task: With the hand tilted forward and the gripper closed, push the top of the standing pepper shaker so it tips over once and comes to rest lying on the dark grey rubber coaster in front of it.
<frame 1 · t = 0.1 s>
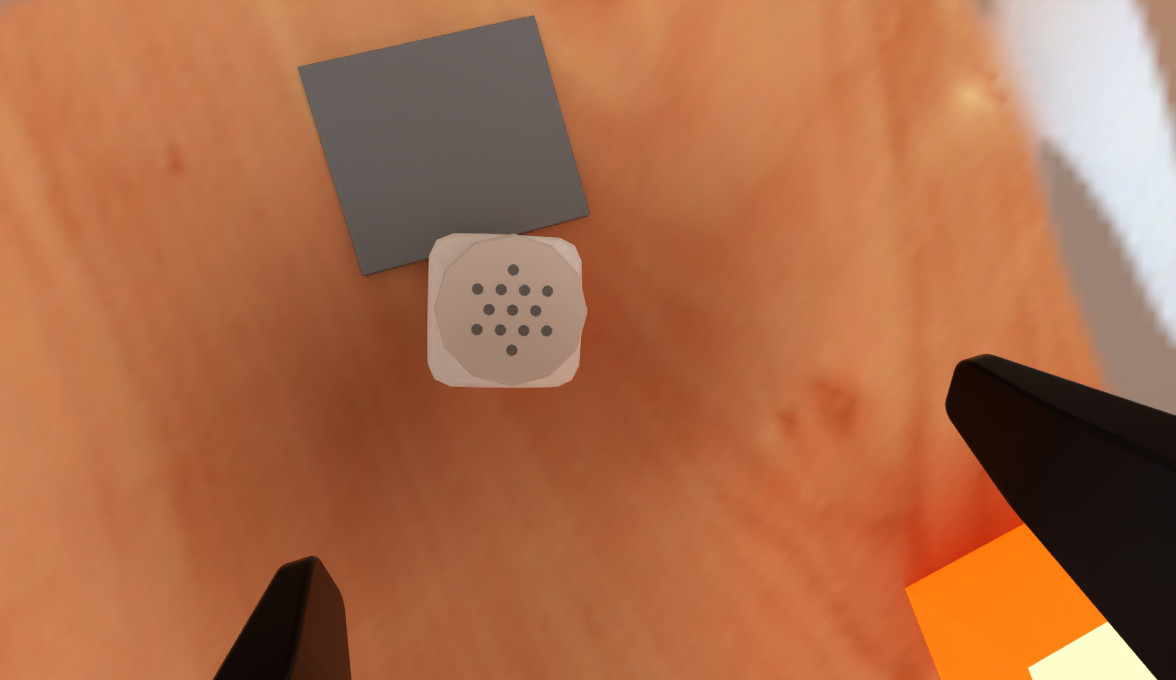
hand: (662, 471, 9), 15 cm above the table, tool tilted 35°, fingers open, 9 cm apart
pepper shaker: (499, 312, 23), on the table
coaster: (450, 147, 22), on the table
orange juice: (1020, 618, 27), on the table
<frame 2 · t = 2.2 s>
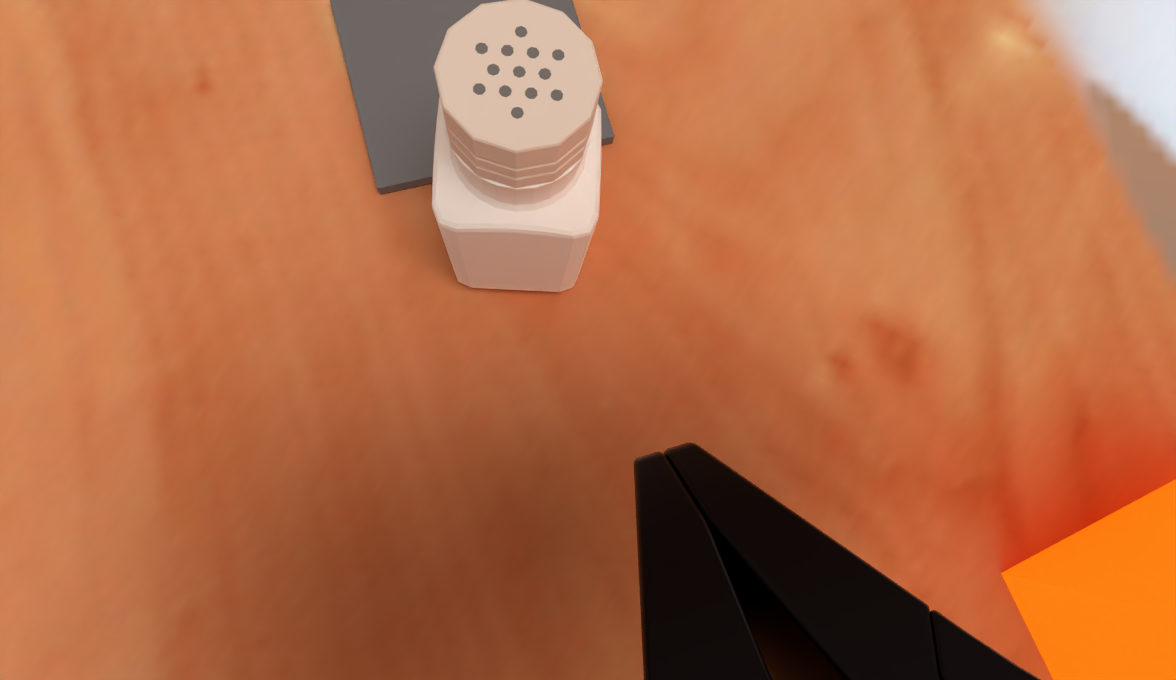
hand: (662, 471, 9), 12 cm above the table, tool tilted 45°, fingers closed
pepper shaker: (518, 237, 22), on the table
coaster: (473, 75, 22), on the table
orange juice: (1153, 622, 22), on the table
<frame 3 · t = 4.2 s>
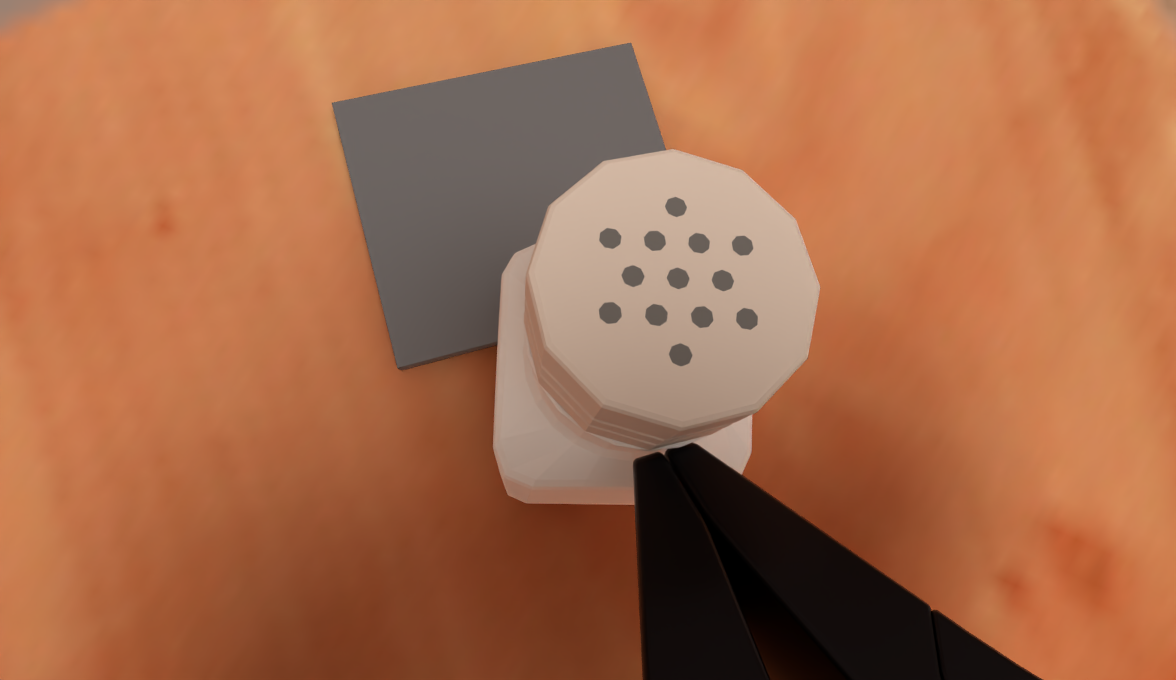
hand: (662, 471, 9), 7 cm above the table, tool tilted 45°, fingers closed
pepper shaker: (585, 422, 16), on the table
coaster: (521, 202, 17), on the table
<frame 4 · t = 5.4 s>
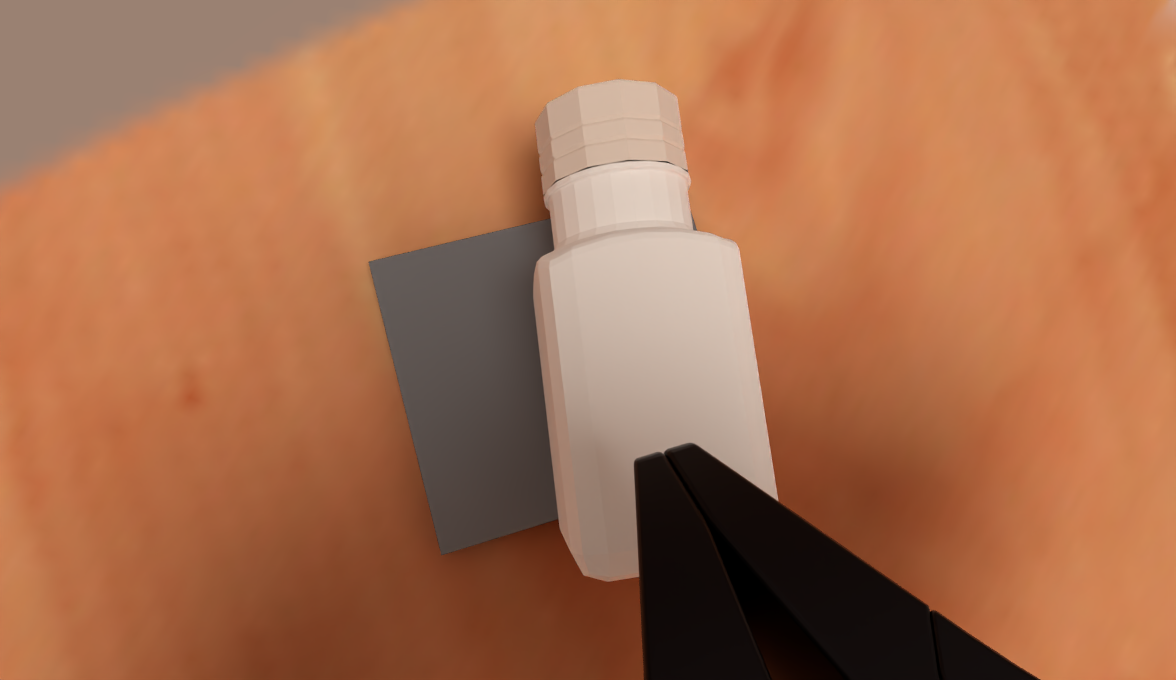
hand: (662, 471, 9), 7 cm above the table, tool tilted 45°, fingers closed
pepper shaker: (666, 565, 13), point 2 cm above the table, touching coaster
coaster: (568, 361, 16), on the table
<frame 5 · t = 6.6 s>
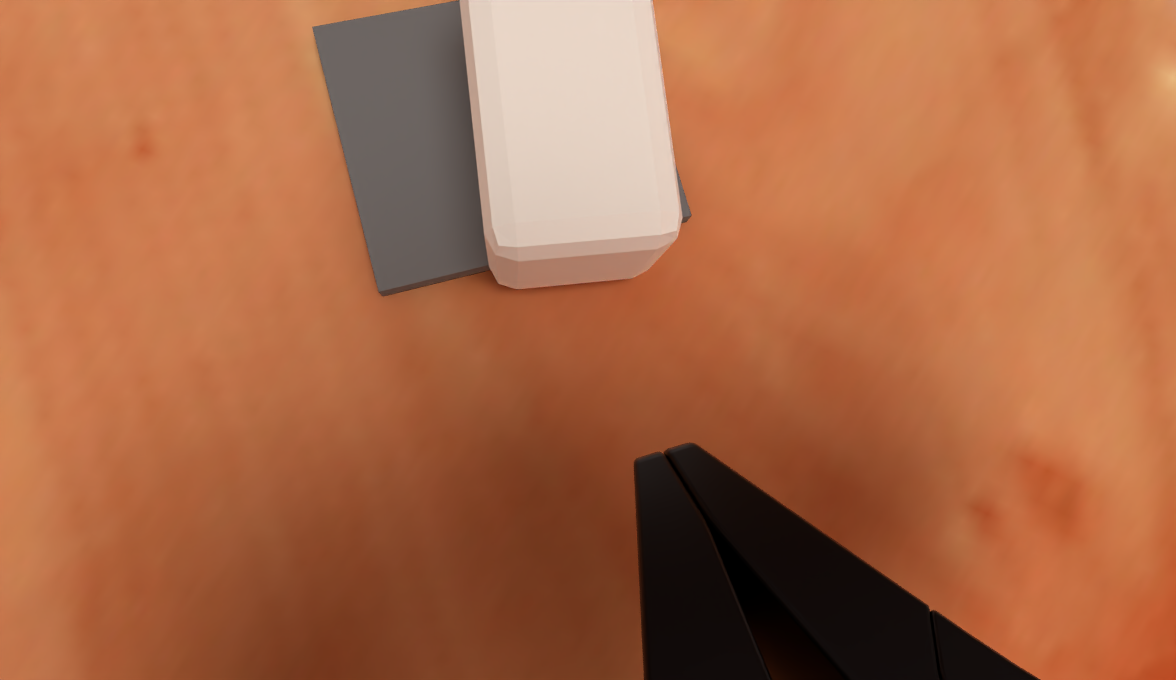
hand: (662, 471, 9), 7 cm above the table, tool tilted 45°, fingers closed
pepper shaker: (582, 279, 14), point 2 cm above the table, touching coaster
coaster: (504, 131, 17), on the table
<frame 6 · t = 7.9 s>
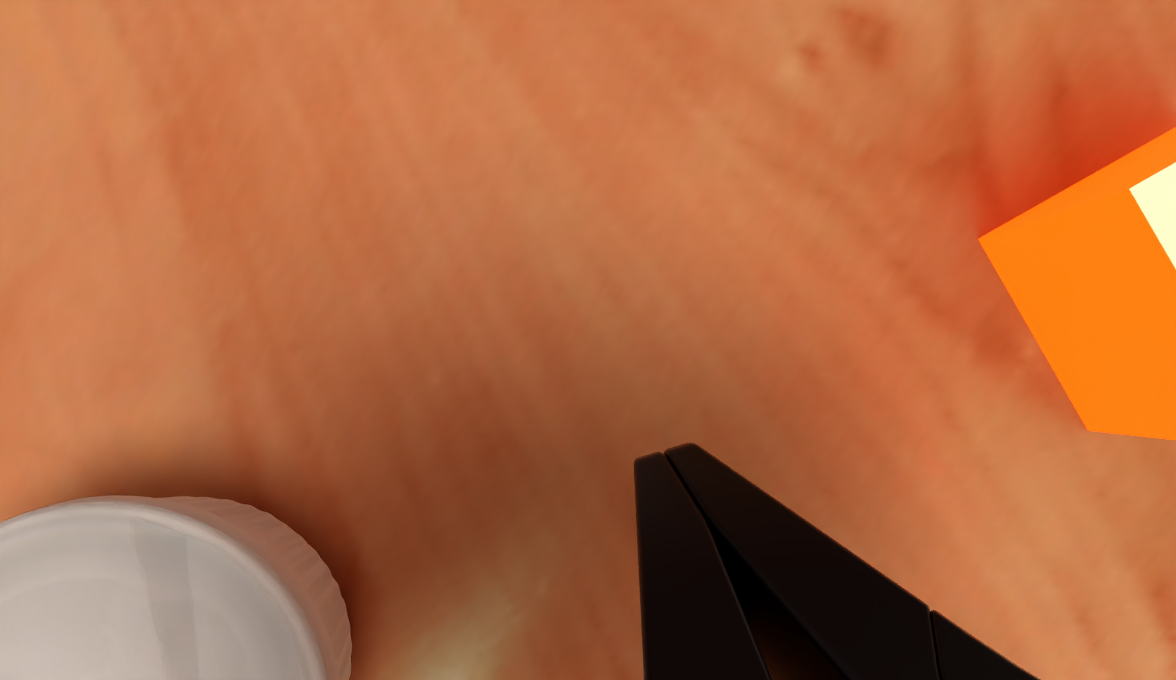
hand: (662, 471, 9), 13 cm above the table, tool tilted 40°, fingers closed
ramekin: (209, 643, 21), on the table
orange juice: (1132, 275, 23), on the table
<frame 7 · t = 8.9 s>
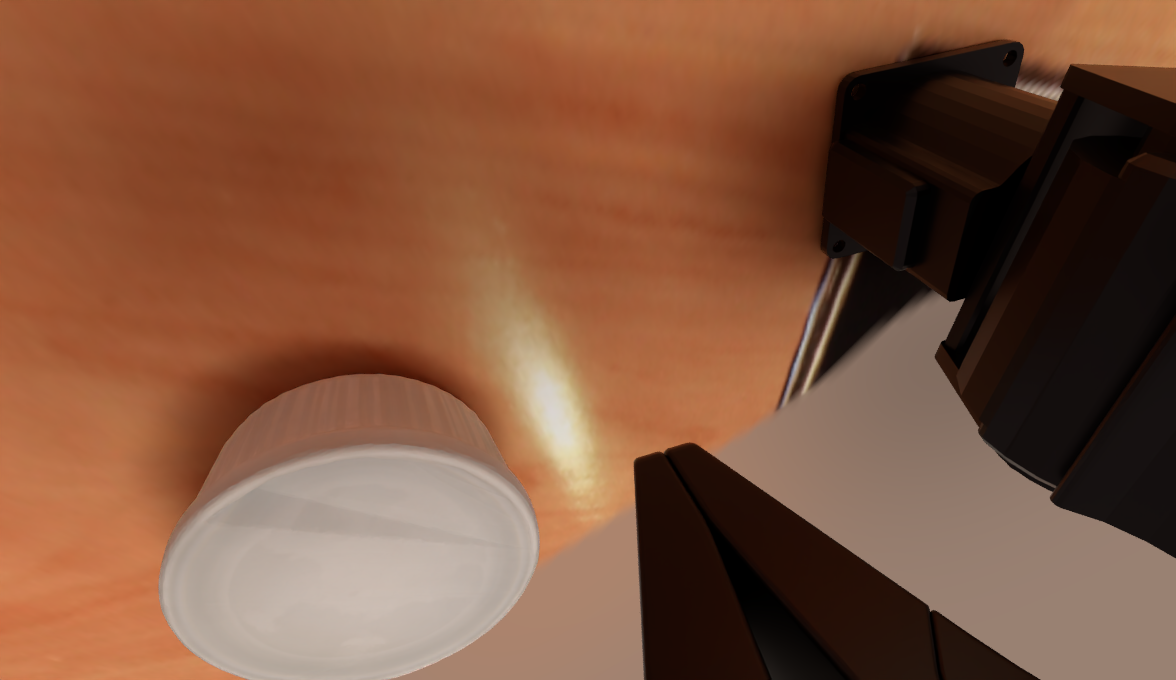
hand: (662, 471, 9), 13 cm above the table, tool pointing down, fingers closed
ramekin: (365, 462, 25), on the table
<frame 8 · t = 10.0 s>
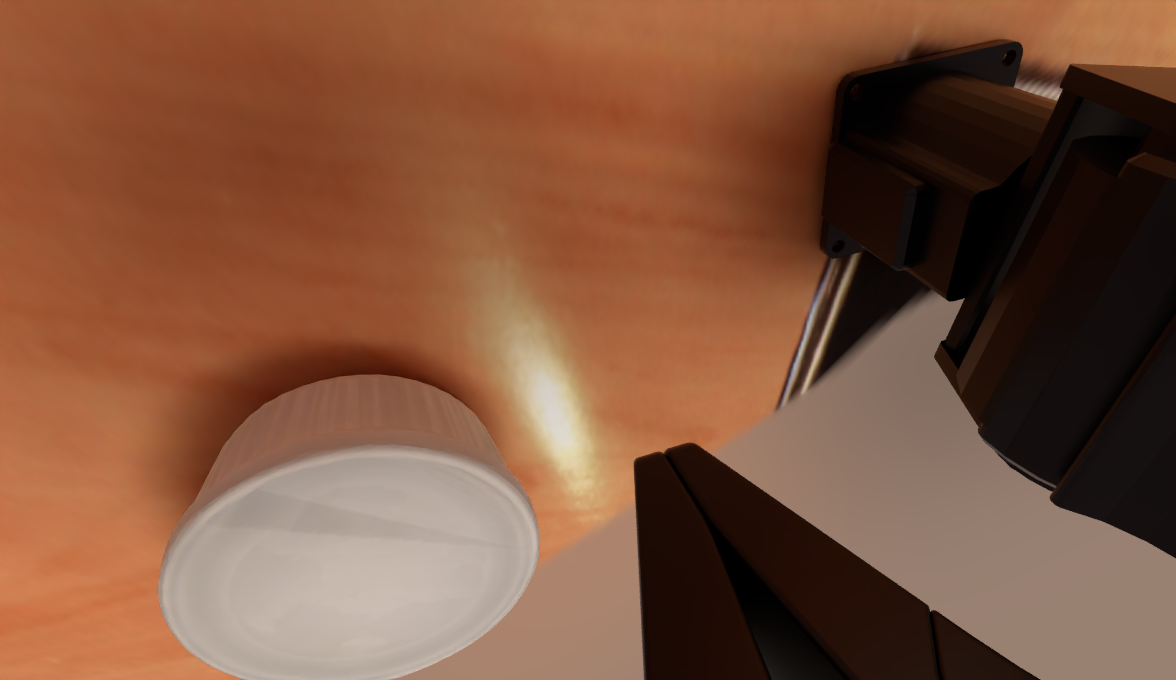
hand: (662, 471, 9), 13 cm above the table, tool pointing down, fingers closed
ramekin: (365, 462, 24), on the table
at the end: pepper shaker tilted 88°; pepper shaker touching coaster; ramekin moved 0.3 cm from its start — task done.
